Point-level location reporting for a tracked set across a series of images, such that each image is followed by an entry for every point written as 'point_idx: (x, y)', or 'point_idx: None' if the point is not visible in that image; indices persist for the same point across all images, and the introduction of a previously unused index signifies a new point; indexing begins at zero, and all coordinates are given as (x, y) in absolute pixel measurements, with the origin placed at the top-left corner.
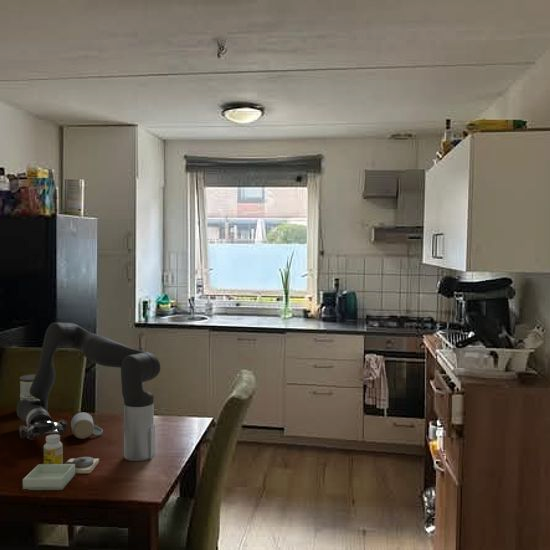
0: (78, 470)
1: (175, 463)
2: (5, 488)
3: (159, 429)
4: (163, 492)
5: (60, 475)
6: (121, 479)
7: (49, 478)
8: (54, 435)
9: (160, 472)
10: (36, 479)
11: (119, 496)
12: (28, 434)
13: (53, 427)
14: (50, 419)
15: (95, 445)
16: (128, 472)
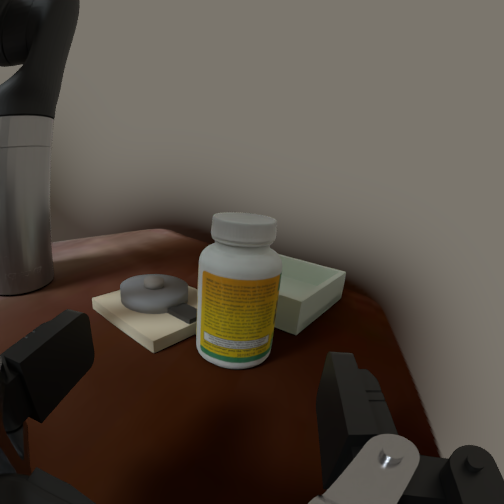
0: (189, 288)
1: None
2: (383, 315)
3: None
4: (138, 231)
5: None
6: (143, 256)
7: (286, 257)
8: (234, 218)
9: (80, 246)
10: (314, 264)
11: (189, 241)
12: (376, 381)
13: (8, 447)
14: None
15: None
16: (109, 261)
